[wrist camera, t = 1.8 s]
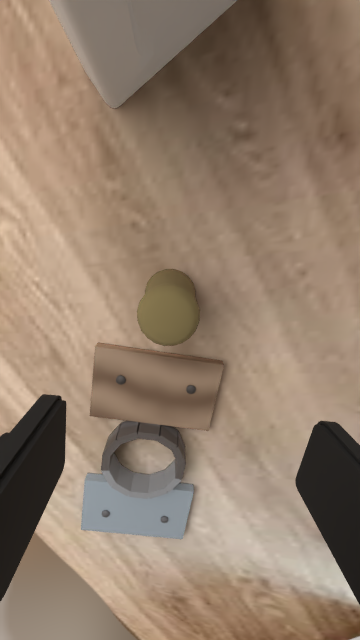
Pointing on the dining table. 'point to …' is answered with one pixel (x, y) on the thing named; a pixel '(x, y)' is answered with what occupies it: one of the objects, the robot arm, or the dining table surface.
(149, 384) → the leaf
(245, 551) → the dining table surface
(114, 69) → the white triangular canister
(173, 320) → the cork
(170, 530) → the leaf
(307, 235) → the dining table surface
